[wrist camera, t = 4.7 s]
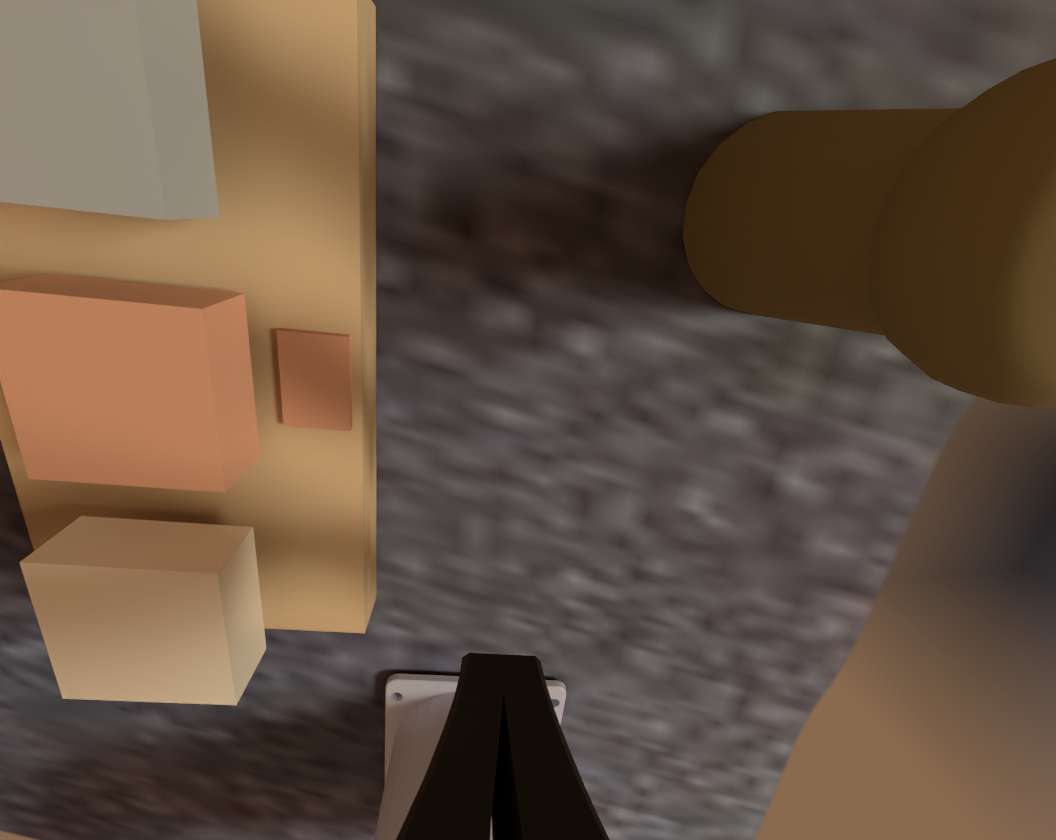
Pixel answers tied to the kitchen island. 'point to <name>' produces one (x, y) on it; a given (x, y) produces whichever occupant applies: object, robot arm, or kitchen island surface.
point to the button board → (260, 301)
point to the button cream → (149, 610)
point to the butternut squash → (898, 231)
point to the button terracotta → (128, 382)
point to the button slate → (105, 108)
